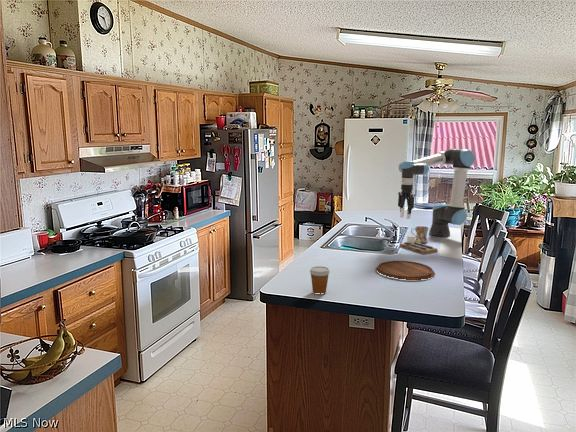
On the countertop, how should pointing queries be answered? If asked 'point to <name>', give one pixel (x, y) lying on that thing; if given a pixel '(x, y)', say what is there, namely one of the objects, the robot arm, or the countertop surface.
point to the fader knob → (411, 239)
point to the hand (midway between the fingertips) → (405, 217)
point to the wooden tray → (418, 247)
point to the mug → (421, 234)
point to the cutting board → (405, 270)
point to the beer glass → (319, 278)
